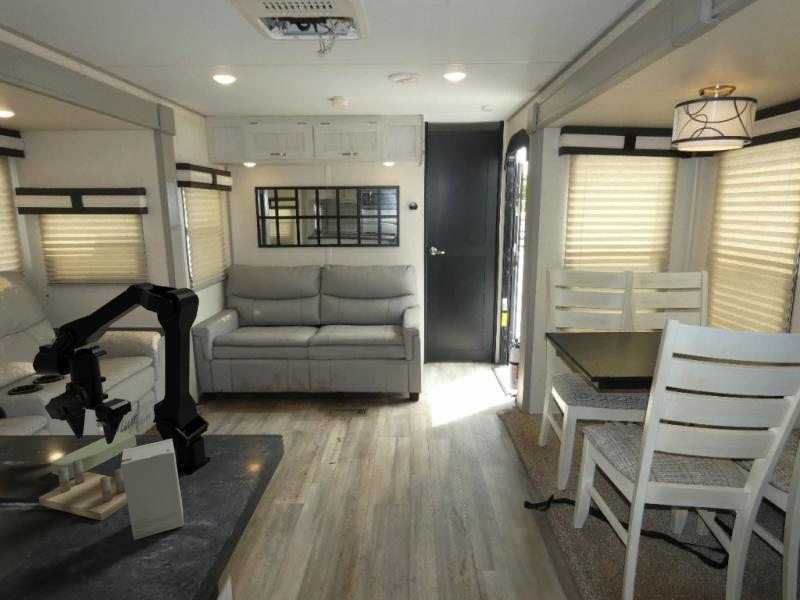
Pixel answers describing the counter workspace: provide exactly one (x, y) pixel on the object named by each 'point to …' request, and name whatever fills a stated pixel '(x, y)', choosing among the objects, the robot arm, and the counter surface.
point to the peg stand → (87, 493)
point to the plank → (95, 453)
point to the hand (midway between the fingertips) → (94, 440)
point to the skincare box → (152, 488)
